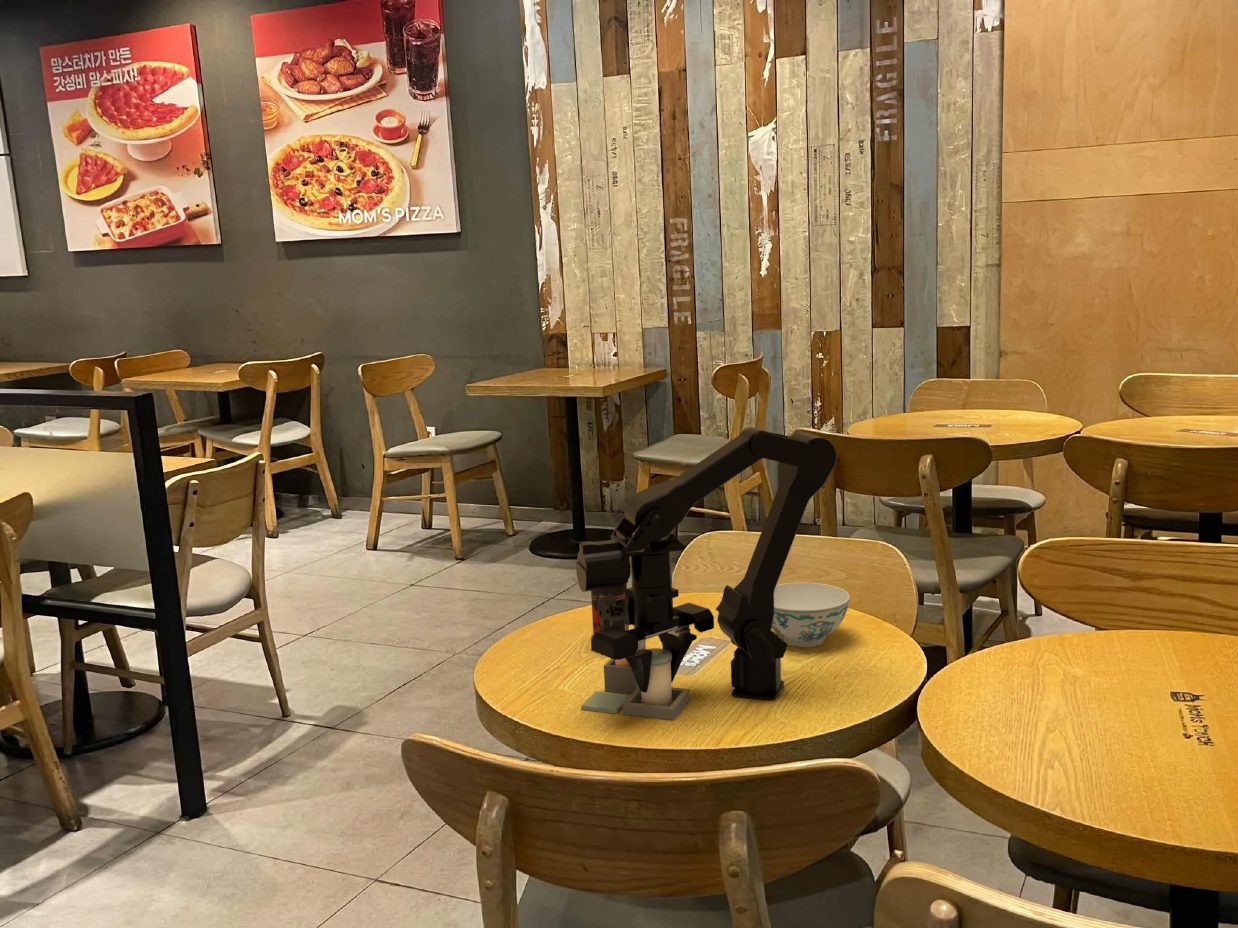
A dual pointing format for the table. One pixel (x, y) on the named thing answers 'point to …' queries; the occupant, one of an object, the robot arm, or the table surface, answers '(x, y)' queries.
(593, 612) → the deodorant
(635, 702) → the socket
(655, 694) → the cylinder
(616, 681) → the box
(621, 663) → the button
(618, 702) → the coaster
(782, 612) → the chinaware
